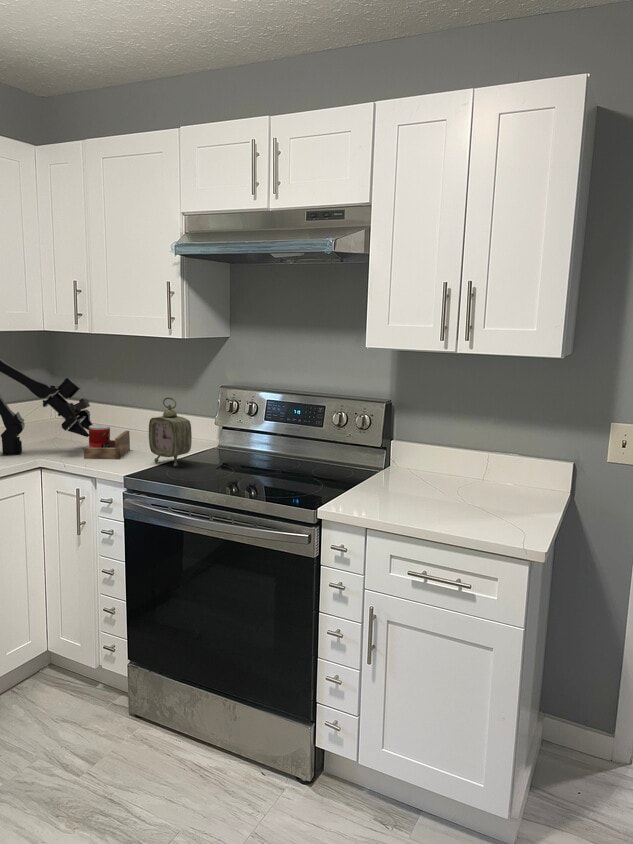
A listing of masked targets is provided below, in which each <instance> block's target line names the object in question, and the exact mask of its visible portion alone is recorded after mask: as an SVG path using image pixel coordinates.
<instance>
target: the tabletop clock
mask: <svg viewBox="0 0 633 844" xmlns="http://www.w3.org/2000/svg"><path fill="white" fill-rule="evenodd" d="M167 400H170V401H171V400H172V402H173V403H174V406H172V405H171V404H168V406H167V405H166V404H165V401H167ZM162 405H163V406H164V407H165V408H166V409H165V410H164V412H163V413H162V416H155V417H151V418H150V419H149V421H148V443H149V450H150V452H151V453H152V454H154V455H156V456H157V457H156V458H154V459H153V461H154V462H155V463H158V462H159V461H160V460H159V459H160V457H163V458H173V467H175V466H177V467H178V466H179V463H178V462H179V460H178V456H182V455H187V454H188V453H189V452H190V451H191V449H192V442H193V441H192V439H193V437H192V435H193V434H192V424H191V421H190V419H187V418H186V417H183V416H180V415H178V414H177V411H175V410H174V409H175V408H176V407H177V401H176V399H174V398H173V397H164V399H163V401H162ZM174 461H175V462H174Z"/></svg>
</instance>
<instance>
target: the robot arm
mask: <svg viewBox="0 0 633 844" xmlns="http://www.w3.org/2000/svg"><path fill="white" fill-rule="evenodd" d="M0 373H2V374H4V375H6V376H7V377H8V378H11V379H12V380H15V381H16V382H17V383H20V385H23V386H25V387H26V388H27V390H29V391H30V392H31V393H32V394H33V395H34V396H36V397H37V398H39V399H43V400H42V407H43V408H47V407H48V406H50V408H52V409H53V410H54V411H55V412H56V413H57V416H58V417H62V418H63V419H64V421H63V422H62V423H61V428H62V429H63V430H64V432H65V431H67V432H70V433H74V434H77V435H79V436H82V437H86V438H89V432H87V431H89V426H91V425H94V424H93V423H92V420H91V412H90V411H89V410H88V409H86V408H89V407H90V406H91V404H90V401H89V400H88V399H87V398H84V397H83V398H81V399H79V401H78V402H77V403H75V404H74V403H73V402H68V400H66V399H72V398H73V397H75V395H76V394H77V393H78V392H79V391H80V390H81V386H80V385H79V384H77V382H75V381H74V380H72V379H71V378H69V377H68V376H66V378H65V379H64V380H63V381H62V382H61V383H60V384H59V385H50V384H49V383H48V382H46V381H43V380H40V379H39V378H35V377H31V376H30V375H28V374H26V373H24V372H23V371H21V370H19V369H18V368H16V367H14V366H13V365H11V364H9V363H7V362H6V361H5V360H4V359H2V358H0ZM49 395H50V396H49ZM48 396H49V397H48ZM47 397H48V398H47ZM46 398H47V399H46ZM0 417H1V421H2V423H3V425H4V427H5V430H4V431H3V432H2V433H1V434H0V438H1V447H2V453H1V455H2V454H12V455H11V456H13V454H15V455H21V454H22V452H23V445H22V442H23V441H22V439H21V438H20V434H21V433H22V432H23V431H24V429H25V427H26V426H25V422H24V421H25V419H24V418H23V417H22V416H21V414H20V412H19V411H18V412H16V413H15V412H13V411H12V409H10V407H9V406H8V404H7V402H6V401H5V400H4V398H3V396H1V395H0Z"/></svg>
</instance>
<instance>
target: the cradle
mask: <svg viewBox="0 0 633 844" xmlns="http://www.w3.org/2000/svg"><path fill="white" fill-rule="evenodd" d="M130 438H131V437H130V430H124V431H123V432H121V433H120V434H119V435H118V436H117V437H115V438H114V439H110V448H89V447H84V448H83V459H87V460H89V459H92V460H93V459H95V460H98V459H102V460H108V459H109V460H110V459H111V460H115V459H116V460H121V459H122V458H123V457H124V456H125V455H126V454H127V453H128V452H129V451H131V445H130V444H131V443H130V442H131V441H130Z"/></svg>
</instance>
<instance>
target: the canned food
mask: <svg viewBox="0 0 633 844" xmlns="http://www.w3.org/2000/svg"><path fill="white" fill-rule="evenodd" d="M88 434H89V436H88V448H110V440H111V427H110V425H106V424H93V425H91V426H89V430H88Z"/></svg>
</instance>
